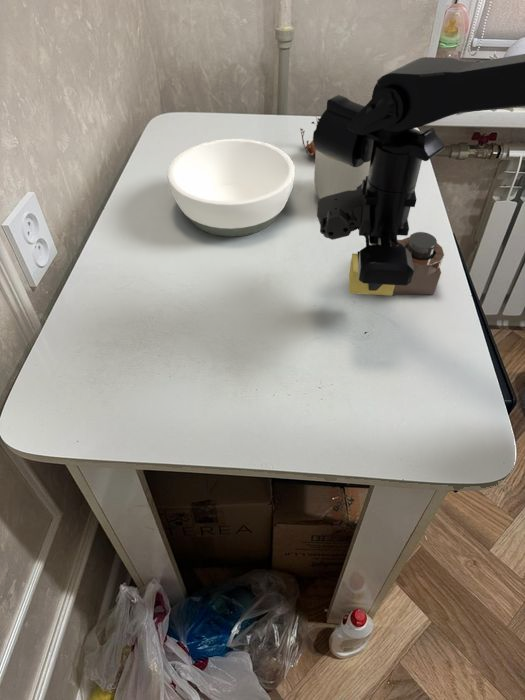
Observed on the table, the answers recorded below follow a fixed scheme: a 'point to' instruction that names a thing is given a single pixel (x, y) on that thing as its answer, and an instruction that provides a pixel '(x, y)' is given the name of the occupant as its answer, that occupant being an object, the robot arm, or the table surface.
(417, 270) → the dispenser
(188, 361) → the table surface
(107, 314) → the table surface
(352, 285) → the yellow block
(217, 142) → the bowl
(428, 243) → the dark grey short cylinder
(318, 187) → the planter
